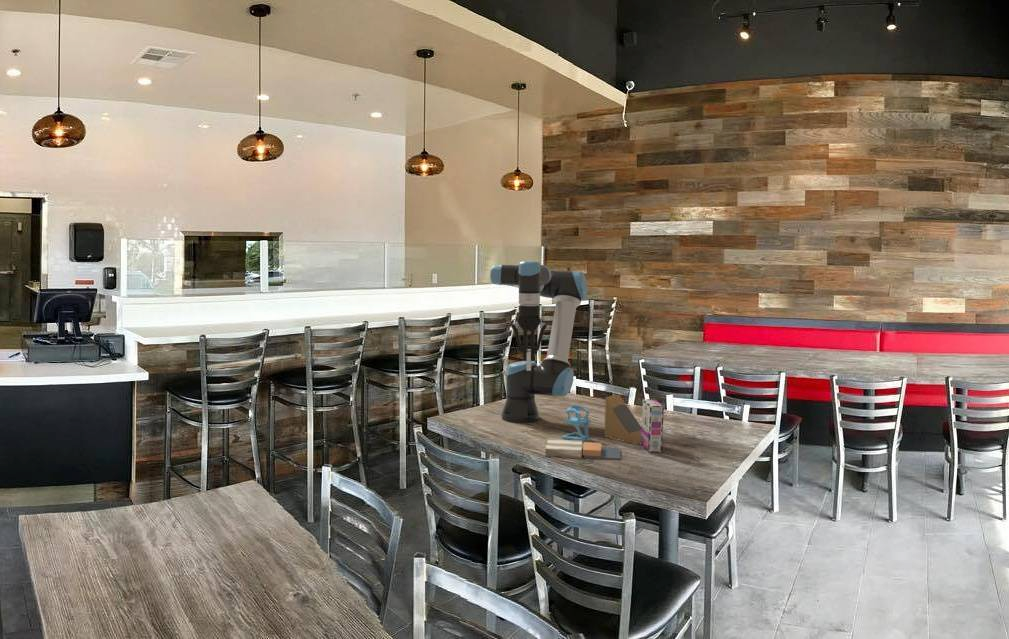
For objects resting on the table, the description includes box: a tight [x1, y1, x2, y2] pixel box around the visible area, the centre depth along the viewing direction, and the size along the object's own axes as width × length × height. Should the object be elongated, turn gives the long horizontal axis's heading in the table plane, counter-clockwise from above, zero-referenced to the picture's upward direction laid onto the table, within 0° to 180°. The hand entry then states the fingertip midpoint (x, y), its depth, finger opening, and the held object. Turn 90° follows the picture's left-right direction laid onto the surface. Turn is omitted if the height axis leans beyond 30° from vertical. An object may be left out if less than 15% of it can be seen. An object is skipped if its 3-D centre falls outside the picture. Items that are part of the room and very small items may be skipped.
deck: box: [544, 438, 583, 459], centre depth 237 cm, size 12×12×2 cm
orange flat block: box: [582, 441, 602, 457], centre depth 236 cm, size 9×6×2 cm, turn 172°
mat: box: [583, 446, 622, 460], centre depth 236 cm, size 12×12×1 cm
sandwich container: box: [604, 393, 642, 445], centre depth 254 cm, size 9×15×15 cm, turn 44°
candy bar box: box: [640, 398, 665, 454], centre depth 242 cm, size 11×5×16 cm, turn 3°
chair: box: [562, 405, 591, 442], centre depth 253 cm, size 8×8×12 cm
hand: (528, 369), depth 249 cm, fingers closed
